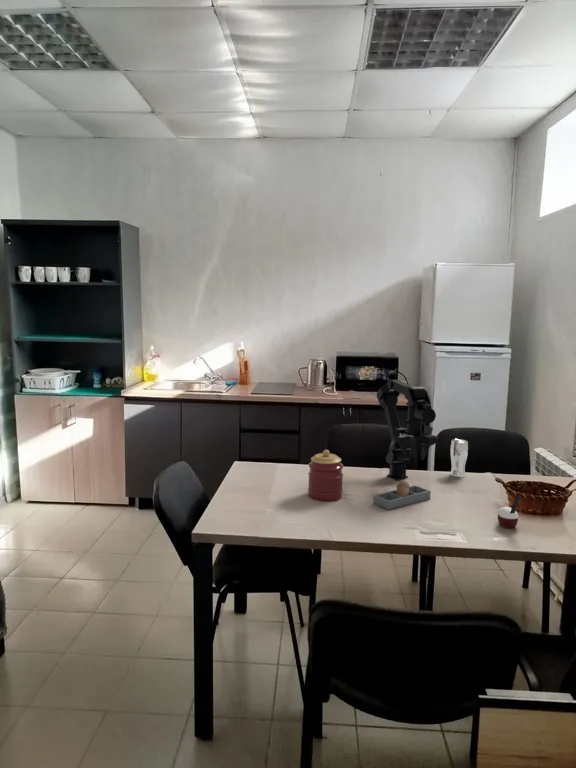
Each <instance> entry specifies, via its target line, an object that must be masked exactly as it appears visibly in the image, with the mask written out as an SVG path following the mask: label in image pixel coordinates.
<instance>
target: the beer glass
mask: <svg viewBox="0 0 576 768" xmlns="http://www.w3.org/2000/svg"><path fill="white" fill-rule="evenodd" d="M468 451H469V442H468V440H466V439H461V438H460V439H459V438H454V439H451V444H450V460H451V461H450V463H451V470H450V473H449V474H450V476H451V477H454V478H465V477H466V471H465V470H466V464H467V463H466V462H467V459H468V455H469V454H468Z"/></svg>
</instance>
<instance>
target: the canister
mask: <svg viewBox="0 0 576 768" xmlns="http://www.w3.org/2000/svg"><path fill="white" fill-rule="evenodd" d="M341 462H342V458H341V457H339V456H338V455H337V454H334V453H330V450H328V449H324V450H323V451H322V453H321V452H320V453H317V454H314V456H312V457H311V458H310V462H309V463H308V468H309V472H308V473H307V474H308V488H307V491H308V492H307V493H308V496H309V498H311V499H313V500H315V499H316V501H321V502H332V501H338V500H341V498H342V496H343V495H344V494H343V491H344V490H343V482H344V481H343V480H344V479H343V477H344V473H343V468H344V464H343V463H341Z"/></svg>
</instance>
